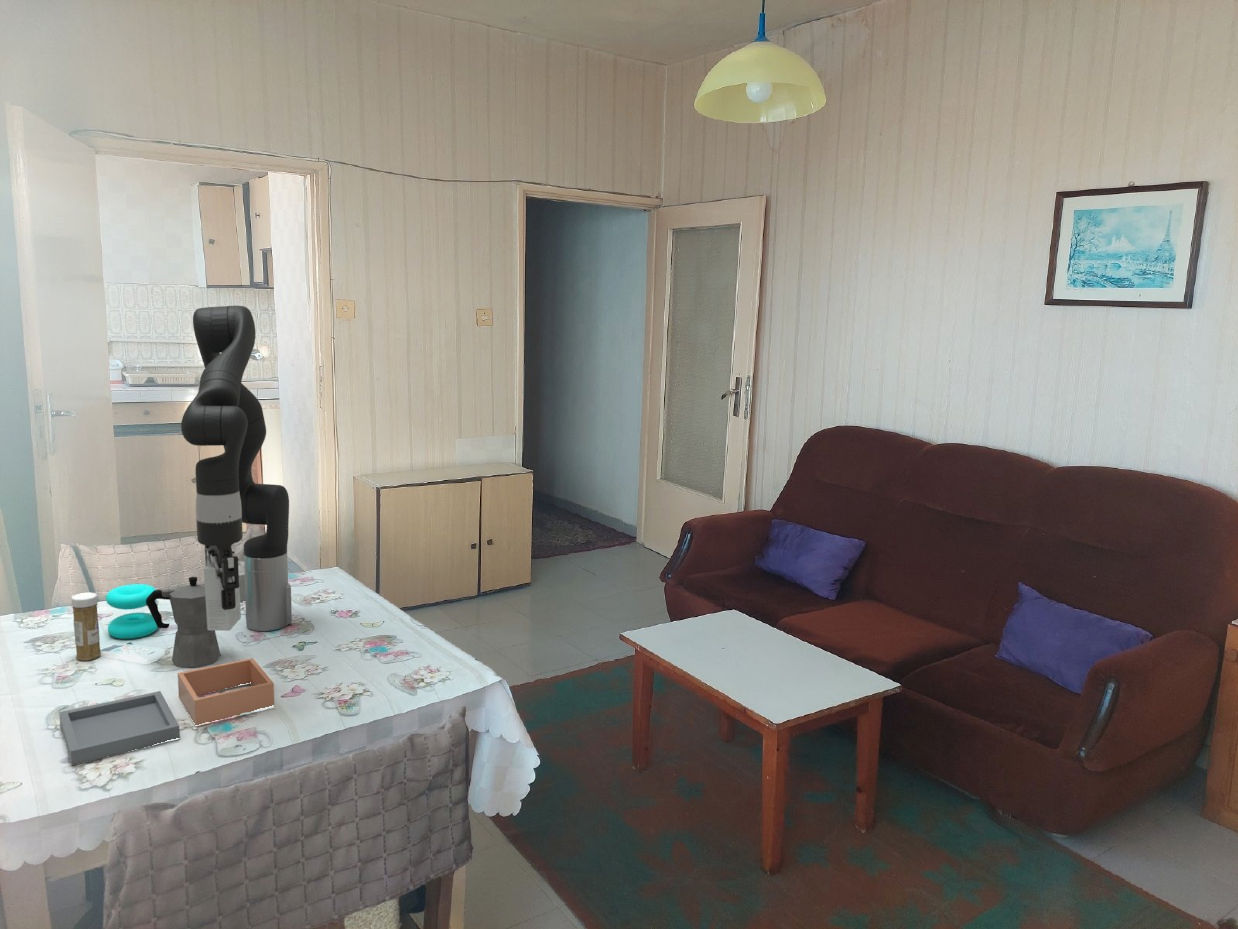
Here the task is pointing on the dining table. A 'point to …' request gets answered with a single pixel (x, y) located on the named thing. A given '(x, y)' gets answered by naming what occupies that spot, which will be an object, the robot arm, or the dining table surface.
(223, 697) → the orange square frame
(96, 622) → the sprinkles bottle
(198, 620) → the coffeepot
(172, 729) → the grey tray
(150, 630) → the donuts
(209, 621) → the skincare box
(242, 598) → the lumpy-topped squat cylinder
